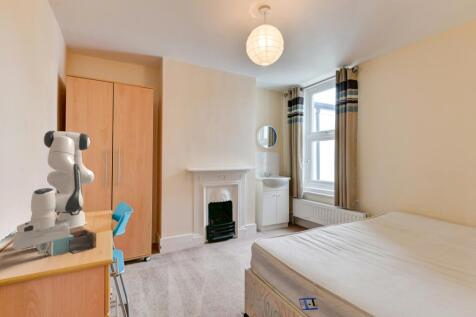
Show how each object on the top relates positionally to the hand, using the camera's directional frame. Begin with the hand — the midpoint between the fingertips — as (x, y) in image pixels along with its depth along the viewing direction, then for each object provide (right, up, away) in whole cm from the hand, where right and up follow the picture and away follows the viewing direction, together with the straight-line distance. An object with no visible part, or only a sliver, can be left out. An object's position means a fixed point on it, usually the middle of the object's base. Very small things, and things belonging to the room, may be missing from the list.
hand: (43, 252), depth 104 cm
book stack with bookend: (+7, -2, +12) cm, 14 cm away
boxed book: (+4, -2, +6) cm, 7 cm away
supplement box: (-9, -2, +12) cm, 15 cm away
